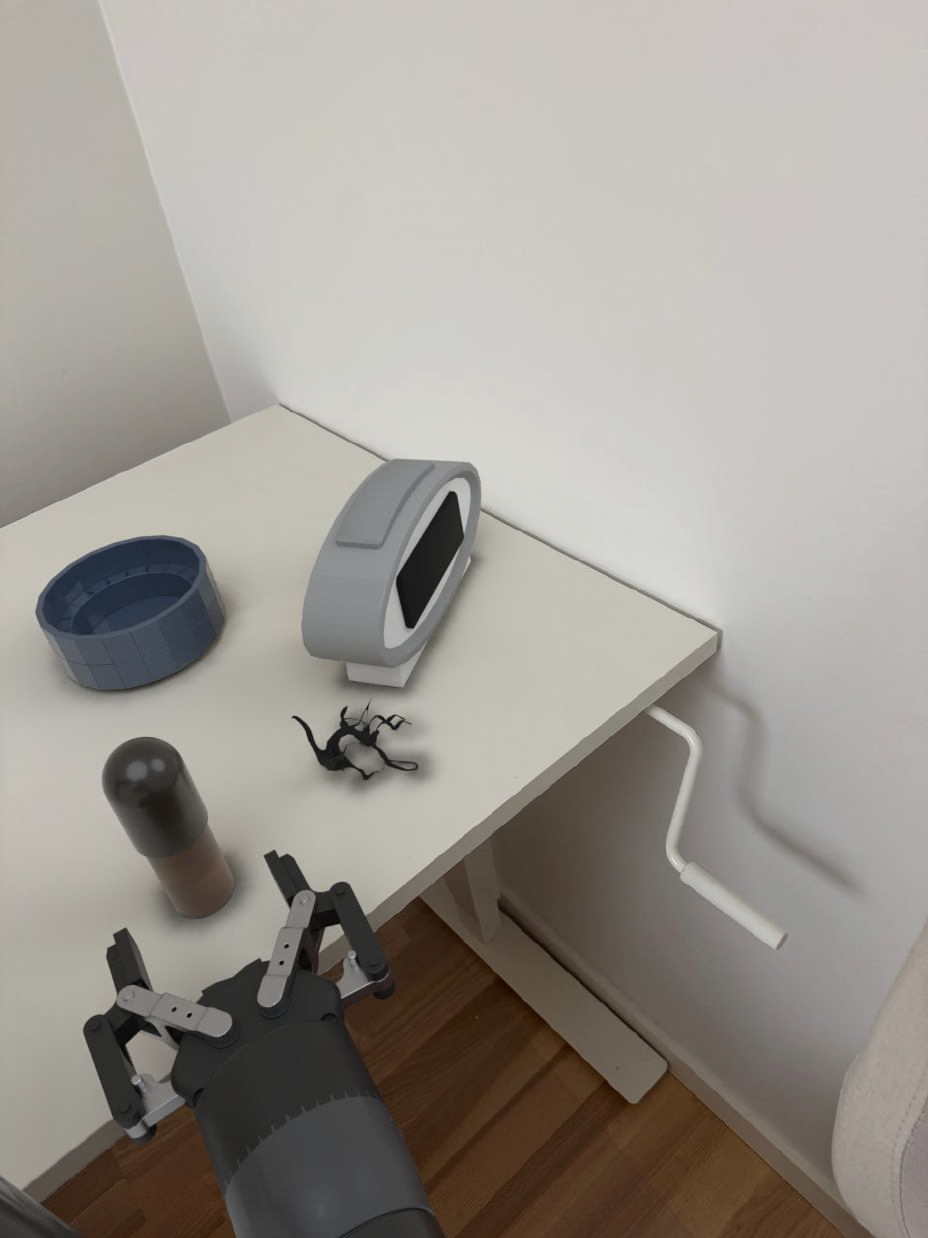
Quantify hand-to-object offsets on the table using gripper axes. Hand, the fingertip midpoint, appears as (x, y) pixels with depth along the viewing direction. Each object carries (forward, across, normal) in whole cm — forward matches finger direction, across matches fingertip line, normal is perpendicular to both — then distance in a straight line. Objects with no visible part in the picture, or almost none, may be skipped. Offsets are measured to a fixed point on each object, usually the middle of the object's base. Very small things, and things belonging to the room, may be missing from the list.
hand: (200, 899), depth 52 cm
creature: (+11, -14, +7) cm, 19 cm away
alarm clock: (+23, -24, +7) cm, 34 cm away
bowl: (+36, -4, +7) cm, 37 cm away
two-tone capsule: (+7, 0, +7) cm, 10 cm away
